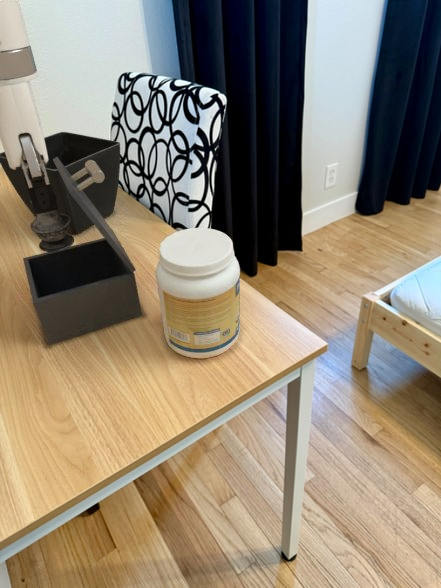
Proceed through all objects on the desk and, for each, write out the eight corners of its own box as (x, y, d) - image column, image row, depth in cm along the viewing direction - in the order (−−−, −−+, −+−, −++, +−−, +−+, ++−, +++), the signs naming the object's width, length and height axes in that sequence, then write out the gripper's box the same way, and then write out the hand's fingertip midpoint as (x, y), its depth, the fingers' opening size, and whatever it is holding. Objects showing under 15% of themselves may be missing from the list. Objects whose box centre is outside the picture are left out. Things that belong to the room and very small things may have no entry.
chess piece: (28, 247, 66) (2, 172, 58) (56, 230, 70) (35, 158, 63) (56, 256, 64) (33, 180, 56) (84, 238, 68) (65, 164, 60)
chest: (48, 345, 69) (32, 302, 63) (37, 298, 78) (22, 258, 73) (142, 315, 74) (134, 273, 68) (120, 274, 84) (112, 235, 78)
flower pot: (78, 194, 113) (61, 129, 103) (133, 210, 105) (122, 141, 95) (18, 225, 100) (-7, 154, 90) (76, 246, 92) (56, 170, 82)
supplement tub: (254, 343, 68) (257, 253, 57) (185, 373, 63) (174, 281, 53) (216, 301, 76) (213, 216, 66) (153, 326, 72) (138, 238, 61)
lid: (68, 192, 57) (101, 170, 57) (52, 159, 66) (81, 141, 67) (132, 273, 68) (159, 254, 68) (110, 234, 78) (134, 218, 78)
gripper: (-33, 58, 56) (12, 189, 67) (-31, 83, 44) (24, 237, 56) (27, 52, 59) (61, 180, 70) (44, 74, 47) (82, 223, 58)
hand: (44, 204), depth 63 cm, fingers closed on chess piece, 3 cm apart
